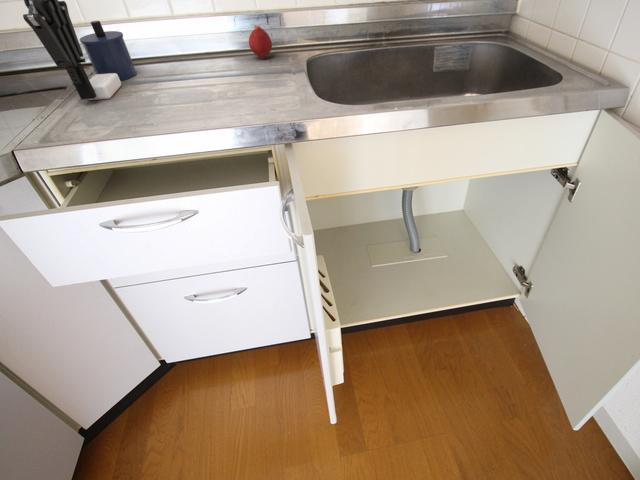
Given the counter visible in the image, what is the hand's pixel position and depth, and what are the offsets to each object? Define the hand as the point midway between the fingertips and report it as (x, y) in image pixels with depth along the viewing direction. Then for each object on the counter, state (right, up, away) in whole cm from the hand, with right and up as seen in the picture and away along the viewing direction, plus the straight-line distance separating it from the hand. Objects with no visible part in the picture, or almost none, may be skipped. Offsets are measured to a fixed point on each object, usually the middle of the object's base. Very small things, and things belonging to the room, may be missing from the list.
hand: (89, 97), depth 85 cm
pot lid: (-2, +18, +8) cm, 20 cm away
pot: (-2, +11, +14) cm, 18 cm away
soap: (0, +3, +6) cm, 7 cm away
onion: (+33, +19, +20) cm, 43 cm away
